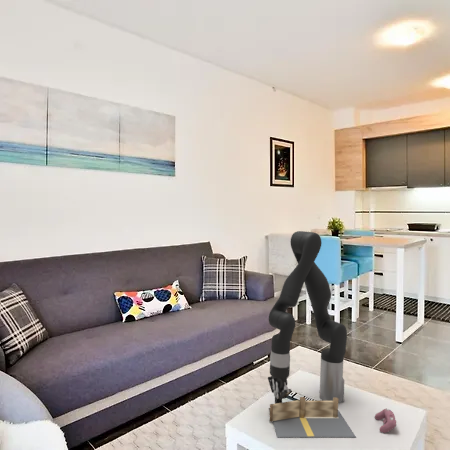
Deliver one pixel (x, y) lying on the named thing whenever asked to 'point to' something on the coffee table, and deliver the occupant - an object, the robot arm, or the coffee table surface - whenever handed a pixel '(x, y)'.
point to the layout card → (313, 427)
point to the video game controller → (386, 420)
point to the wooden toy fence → (318, 408)
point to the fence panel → (284, 410)
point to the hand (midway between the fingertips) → (278, 406)
